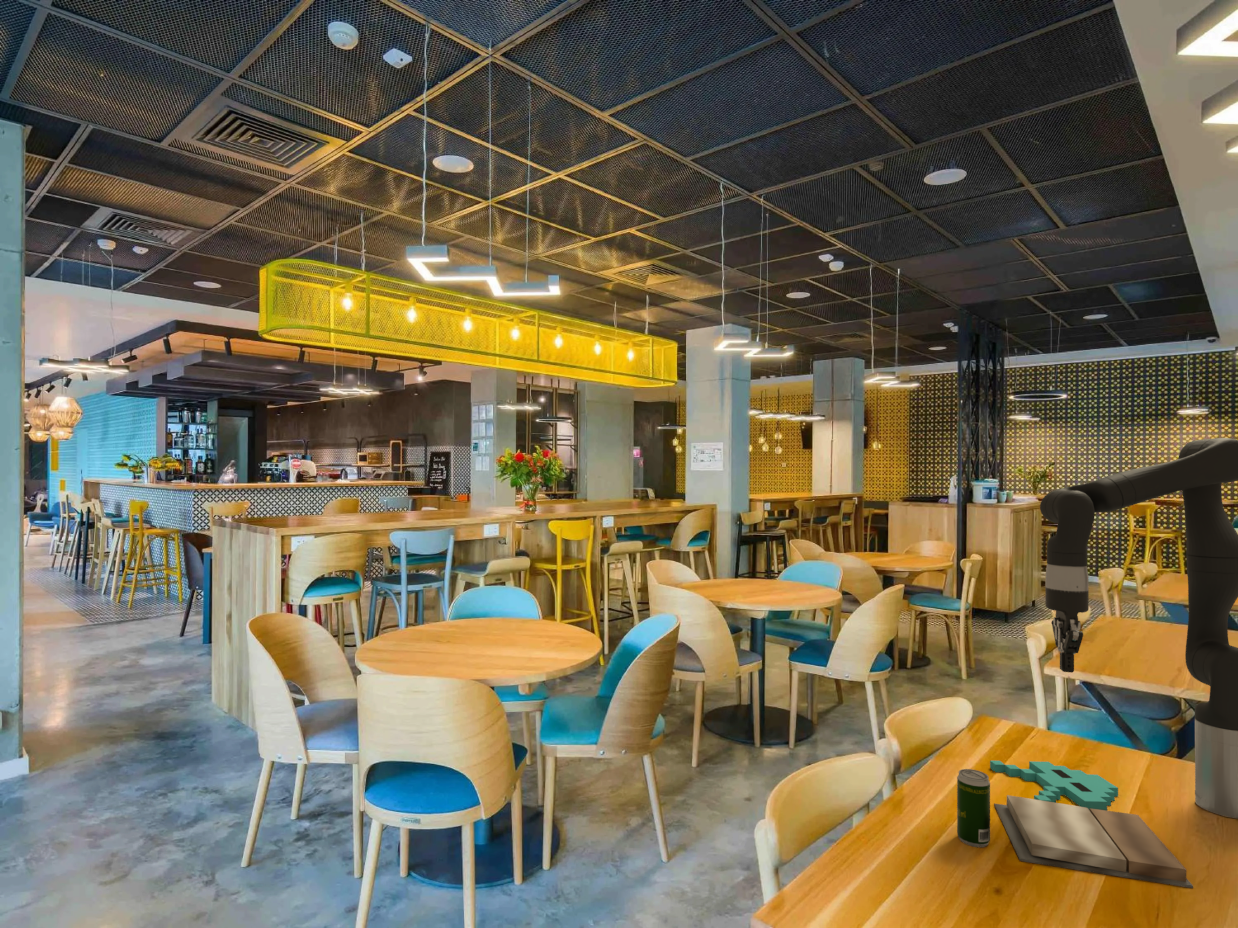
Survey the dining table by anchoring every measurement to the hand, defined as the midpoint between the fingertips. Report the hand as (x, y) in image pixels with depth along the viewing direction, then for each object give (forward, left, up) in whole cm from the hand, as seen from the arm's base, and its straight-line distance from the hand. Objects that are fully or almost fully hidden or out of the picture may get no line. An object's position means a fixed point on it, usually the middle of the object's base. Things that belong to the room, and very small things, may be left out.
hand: (1066, 671), depth 145 cm
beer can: (+21, +23, -27) cm, 41 cm away
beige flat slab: (+5, +17, -26) cm, 32 cm away
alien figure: (-1, -8, -28) cm, 29 cm away
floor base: (+2, +17, -27) cm, 32 cm away
